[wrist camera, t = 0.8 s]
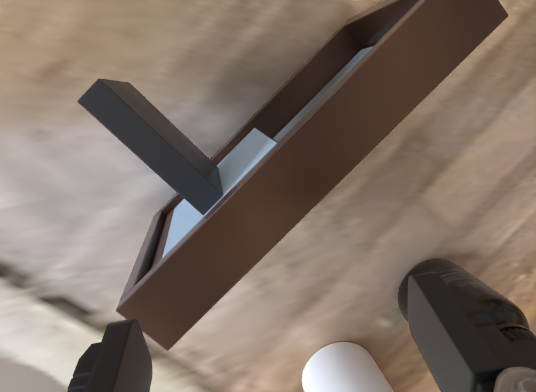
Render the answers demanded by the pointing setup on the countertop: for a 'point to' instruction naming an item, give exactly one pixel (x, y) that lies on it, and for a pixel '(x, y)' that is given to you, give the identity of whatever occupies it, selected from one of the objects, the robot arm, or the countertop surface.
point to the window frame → (305, 150)
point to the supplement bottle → (494, 304)
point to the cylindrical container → (343, 370)
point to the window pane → (172, 155)
